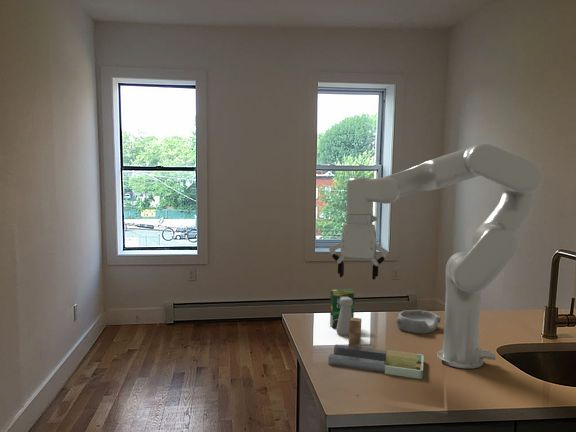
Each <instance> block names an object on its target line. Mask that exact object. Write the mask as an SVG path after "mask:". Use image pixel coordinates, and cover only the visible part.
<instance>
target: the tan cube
mask: <svg viewBox="0 0 576 432" xmlns="http://www.w3.org/2000/svg"><path fill="white" fill-rule="evenodd" d="M386 351H387V354H386V364H385V365H387V366H394V367H401V357H402V352H403V351H400V352H399V351H398V350H390V349H387V350H386Z"/></svg>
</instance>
